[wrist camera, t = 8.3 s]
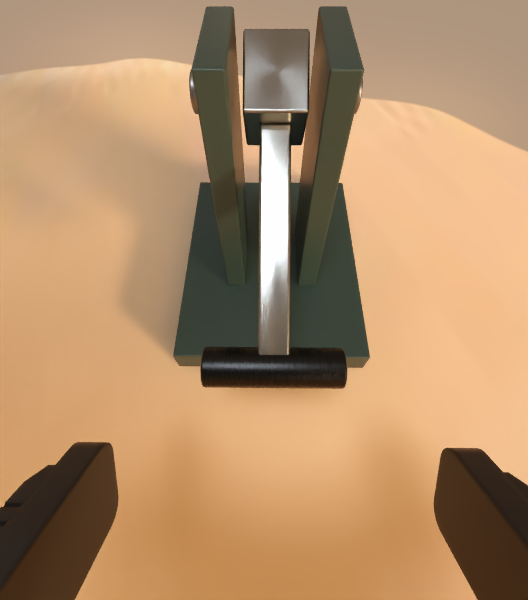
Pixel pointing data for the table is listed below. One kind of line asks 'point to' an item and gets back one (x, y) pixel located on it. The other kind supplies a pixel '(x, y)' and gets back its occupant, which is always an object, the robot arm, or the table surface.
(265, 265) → the lever
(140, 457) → the table surface
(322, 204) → the bracket
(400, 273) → the table surface
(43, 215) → the table surface
